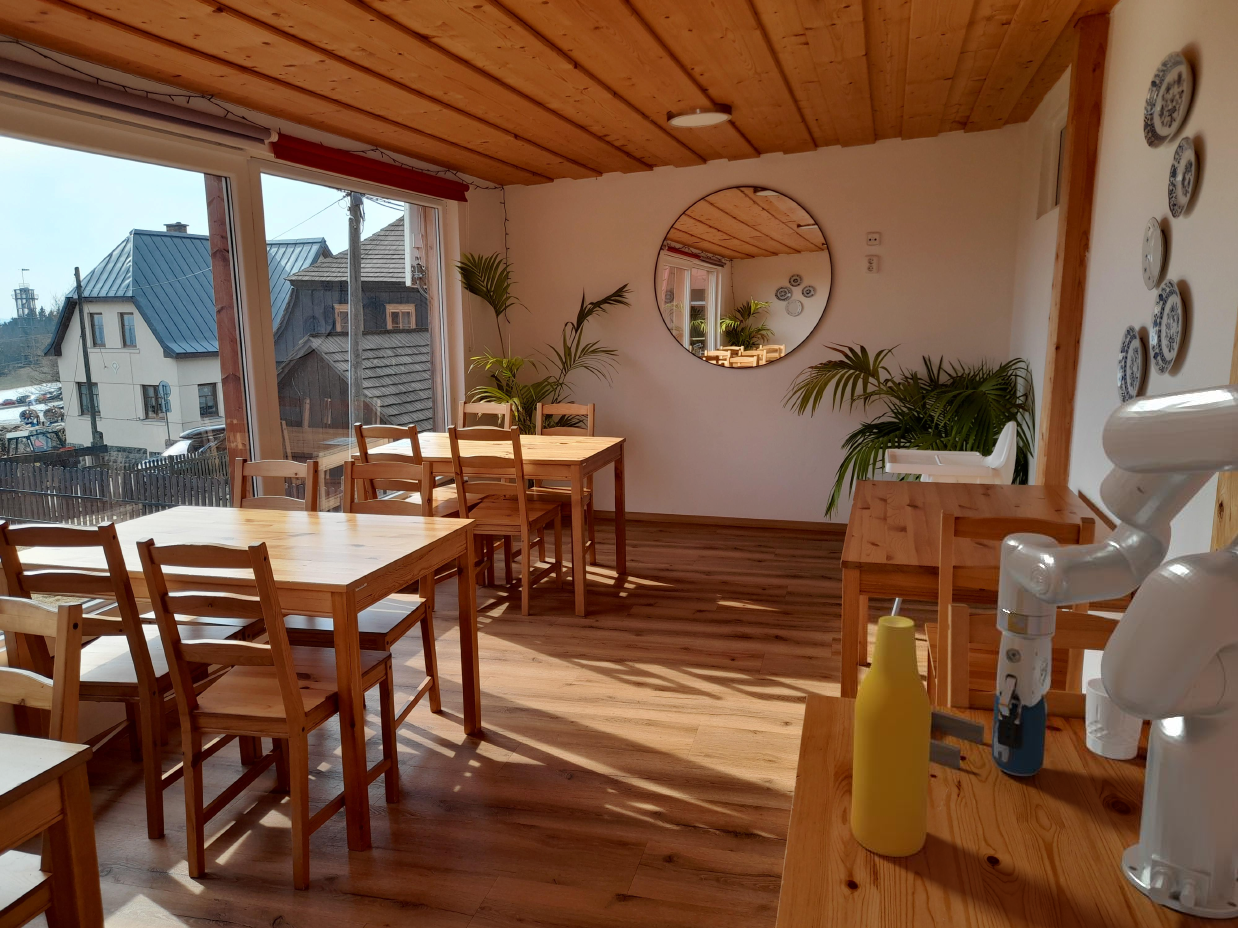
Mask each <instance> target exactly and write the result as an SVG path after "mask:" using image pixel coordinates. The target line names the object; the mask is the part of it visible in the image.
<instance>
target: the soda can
mask: <svg viewBox="0 0 1238 928" xmlns="http://www.w3.org/2000/svg"><path fill="white" fill-rule="evenodd" d="M1013 699H1014V700H1018V701H1020V698H1019V697H1018V696H1013ZM999 700H1000V698H999V697H998V696H997V692H996V693H995V695H994V704H993V719H992V721H993V722H992V734H991V735H992V738H991V749H990V750H991V753H990V754H991V757H992V759H993V761H994V763H995V765H996V766H997V768H999V769H1000V770H1001V771H1003V772H1005V773H1008V774H1009V775H1010V774H1011V775H1013V776H1018V777H1019V776H1020V777H1030V776H1033V775H1035V774H1037V773H1038V772H1039V771H1040V770H1041V768H1042V767H1043V765H1044V759H1045V757H1044V756H1045V746H1046V745H1045V743H1046V732H1047V730H1046V729H1047V716H1048V715H1047V714H1048V703H1047V700H1046V698H1045V695H1044V696H1043V694H1042V696H1041V699H1040V700H1039V701H1038V702H1037V703H1036V704H1035V705H1033V706H1032V707H1027V705H1024V710H1023V714H1022V719H1021V722H1022V723H1024V726H1023V741H1022V748H1021V749H1020V750H1017V749H1014V748H1010V747H1007V746H1004V745H1001V744H999V743H998V741H997V740H998V724H999ZM1011 705H1012V707H1011V708H1013V709H1014V710H1015V712H1016V713H1017V708H1018V705H1015V704H1011Z"/></svg>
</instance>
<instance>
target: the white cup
mask: <svg viewBox="0 0 1238 928" xmlns="http://www.w3.org/2000/svg"><path fill="white" fill-rule="evenodd" d="M1085 685H1086V688H1085V689H1086V691H1085V729H1086V730H1085V731H1086V735H1085V736H1086V737H1085V743H1086V747H1087V748H1088V749H1089V750H1090V751H1091V752H1093V753H1094V754H1096V755H1099V756H1102V757H1105V758H1108V759H1113V760H1119V761H1120V760H1122V761H1123V760H1125V761H1126V760H1131V759H1134V758H1136V756H1137V753H1138V745H1139V739H1140V736H1141V733H1142V732H1141V731H1142V727H1143V721H1144V719H1140V718H1137V717H1134V716H1131V715H1129V714H1127V713H1125V712H1124V711H1122V710H1121V709H1119V708H1118V707H1117V706H1116V705H1115V704H1114V703H1113V702H1112V701H1111V699H1110V698H1109V696H1108V695H1107V693H1106V691H1105V689H1104V686H1103V683H1102V679H1101V677H1096V678H1091V679H1089V680H1088V681H1086V684H1085Z"/></svg>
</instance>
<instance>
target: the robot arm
mask: <svg viewBox="0 0 1238 928" xmlns="http://www.w3.org/2000/svg"><path fill="white" fill-rule="evenodd" d="M1101 439H1102V440H1101V441H1102V447H1103V451H1104V454H1105V455H1106V457H1107V459H1108V460H1109V461H1110V462H1111V463H1112V464H1113V465H1114V466H1113V468H1111V470H1110V471H1109V473H1108V474H1107V475H1106V476H1105V477H1104V478H1103V480H1102V481H1101V483H1100V486H1099V497H1100V499H1101V502H1102V503H1103V505H1104V506H1105V508H1106V509H1107V510H1108V511H1109V513H1111V514H1112V515H1113V516H1114V517H1115V518H1117V519H1118V520H1119V521H1121V522H1119V524H1118V525H1117V527H1115V529H1114V530H1113V531H1112V532H1111V533H1110V534H1109V536H1108V537H1107V538H1106V539H1105V540H1103V541H1102V542H1101V543H1089V544H1082V545H1081V544H1080V545H1072V546H1063V547H1061V546H1060V543H1059V542H1058V541H1057V540H1056V539H1054V538H1053V537H1051V536H1048V535H1045V534H1042V533H1041V534H1040V533H1033V532H1017V533H1011V534H1007V536H1005V537H1004V538H1003V540H1002V543H1001V547H1000V548H1001V549H1000V562H999V563H1000V564H999V583H998V598H997V616H996V617H997V618H996V628H997V629H998V630H999V631H1000V632H1001V633H1002V634H1001V638H1000V644H999V654H998V661H997V662H998V663H997V671H996V673H997V674H996V693H997V696H998V697H999V698H1000V700H999V724H998V740H997V741H998V743H999V744H1001V745H1004V746H1007V747H1010V748H1014V749H1017V750H1020V749H1021V748H1022V741H1023V726H1024V723H1022V722H1021V719H1022V714H1023V710H1024V705H1027V707H1032V706H1033V705H1035V704H1036V703H1037V702H1038V701H1039V700H1040V699H1041V696H1042V694H1043V696H1044V697H1045V695H1046V694H1047V692H1048V691H1049V690H1050V687H1051V685H1052V684H1051V683H1052V682H1051V681H1052V637H1054V636H1055V634H1056V633H1055V631H1056V618H1057V607H1060V606H1063V607H1064V606H1072V605H1076V604H1077V605H1078V604H1085V603H1090V602H1098V601H1099V602H1100V601H1106V600H1114V599H1120V598H1123V597H1125V596H1126V595H1129V594H1130V593H1132V592H1134V591H1135V590H1136V589H1137V591H1136V593H1135V594H1134V596H1133V598H1132V600H1131V601H1130V603H1129V605H1128V607H1127V608H1126V610H1125V611H1124V613H1123V615H1122V617H1121V618H1120V620H1119V622H1118V623H1117V625H1116V627H1115V629H1114V631H1113V632H1112V634H1111V635H1110V637H1109V639H1108V641H1107V643H1106V645H1105V647H1104V649H1103V652H1102V656H1101V660H1100V678H1101V679H1102V683H1103V686H1104V689H1105V691H1106V693H1107V695H1108V696H1109V698H1110V699H1111V701H1112V702H1113V703H1114V704H1115V705H1116V706H1117V707H1118V708H1119V709H1121V710H1122V711H1124V712H1125V713H1127V714H1129V715H1131V716H1134V717H1137V718H1140V719H1143V720H1146V721H1147V720H1148V721H1151V722H1152V723H1151V726H1150V730H1149V736H1148V746H1147V754H1146V764H1145V766H1146V767H1145V775H1144V776H1145V777H1144V787H1143V798H1142V809H1141V819H1140V830H1139V840H1138V843H1135V844H1133V845H1131V846H1129V847H1127V848H1126V849H1125V851H1124V852H1123V854H1122V856H1121V857H1122V859H1121V868H1122V871H1123V873H1124V876H1125V877H1126V878H1127V879H1128V881H1129V882H1130V883H1131V884H1132V885H1133V886H1134V887H1135V888H1137V889H1138V890H1139V891H1141V893H1142V894H1145V895H1146V896H1147V897H1149V899H1150V900H1151V901H1152V902H1153V903H1155V904H1158V905H1164V906H1166V907H1168V908H1171V909H1174V910H1176V911H1179V912H1182V913H1185V914H1188V915H1192V916H1195V917H1202V918H1207V919H1208V918H1209V919H1233V918H1236V917H1238V533H1237V534H1236V535H1235V536H1234V538H1233V539H1232V540H1231V541H1230V542H1229V543H1228V544H1227V545H1226V546H1224V547H1222V548H1220V549H1217V550H1214V551H1207V552H1206V551H1205V552H1199V553H1191V554H1186V555H1181V556H1176V557H1174V558H1172V559H1169V560H1167V561H1165V562H1164V560H1165V559H1166V557H1167V555H1168V551H1169V549H1170V545H1171V539H1172V527H1171V522H1172V521H1173V520H1174V519H1175V517H1177V515H1178V514H1180V512H1182V510H1183V509H1184V508H1185V507H1186V506H1187V504H1189V503H1190V502H1191V501H1192V499H1194V497H1195V496H1196V495H1197V494H1198V493H1199V492H1200V491H1201V489H1203V487H1205V485H1206V484H1207V483H1208V482H1209V481H1210V480H1212V478H1213V477H1214V475H1215V474H1216V473H1221V472H1224V473H1225V472H1238V383H1231V384H1223V385H1217V386H1216V385H1215V386H1209V387H1203V388H1196V389H1187V390H1182V391H1177V392H1176V391H1175V392H1169V393H1161V394H1154V395H1153V394H1152V395H1143V396H1141V395H1140V396H1137V397H1134V398H1131V399H1128V400H1127V401H1124V402H1123V403H1121V404H1119V406H1118V407H1116V408H1115V409H1114V410H1113V411H1112V412H1111V413H1110V415H1109V416H1108V419H1107V420H1106V422H1105V424H1104V427H1103V429H1102V436H1101ZM1013 696H1018V697H1019V698H1020V701H1018V700H1014V699H1013ZM1011 704H1015V705H1018V708H1017V713H1016V712H1015V710H1014V709H1013V708H1011V707H1012V705H1011Z"/></svg>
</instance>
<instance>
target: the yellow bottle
mask: <svg viewBox="0 0 1238 928" xmlns="http://www.w3.org/2000/svg"><path fill="white" fill-rule="evenodd" d="M915 628H916V627H915V622H914V621H913V620H912V619H910V618H908V617H904V616H899V615H885V616H881V617H879V618H878V622H877V629H876V636H875V641H874V642H875V643H874V650H873V654H872V661H871V665H870V667H869V669H868V671H867V673H866V674H865V676H864V678H863V680H862V681H861V684H860V685H859V687H858V689H857V690H858V691H857V694H856V699H855V703H854V730H853V731H854V732H853V733H854V734H853V756H852V757H853V759H852V760H853V761H852V764H853V765H852V793H851V810H850V828H851V832H852V835H853V837H854V839H855V840H856V842H857V843H859V844H860V845H861V846H862V847H863V848H865V849H867V850H868V851H871V852H873V853H875V854H878V855H881V856H885V857H891V858H902V857H903V858H904V857H909V856H912V855H915V854H916V853H918V852H919V851H920V850H922V848H923V847H924V845H925V841H926V839H927V838H926V837H927V814H928V812H927V811H928V793H929V792H928V791H929V772H930V770H929V767H930V760H929V753H930V739H931V732H932V731H931V730H932V729H931V709H932V706H931V699H930V697H929V693H928V691H927V688H926V685H925V684H924V681H923V680H922V677H921V674H920V671H919V668H918V657H917V643H916V629H915Z"/></svg>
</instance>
